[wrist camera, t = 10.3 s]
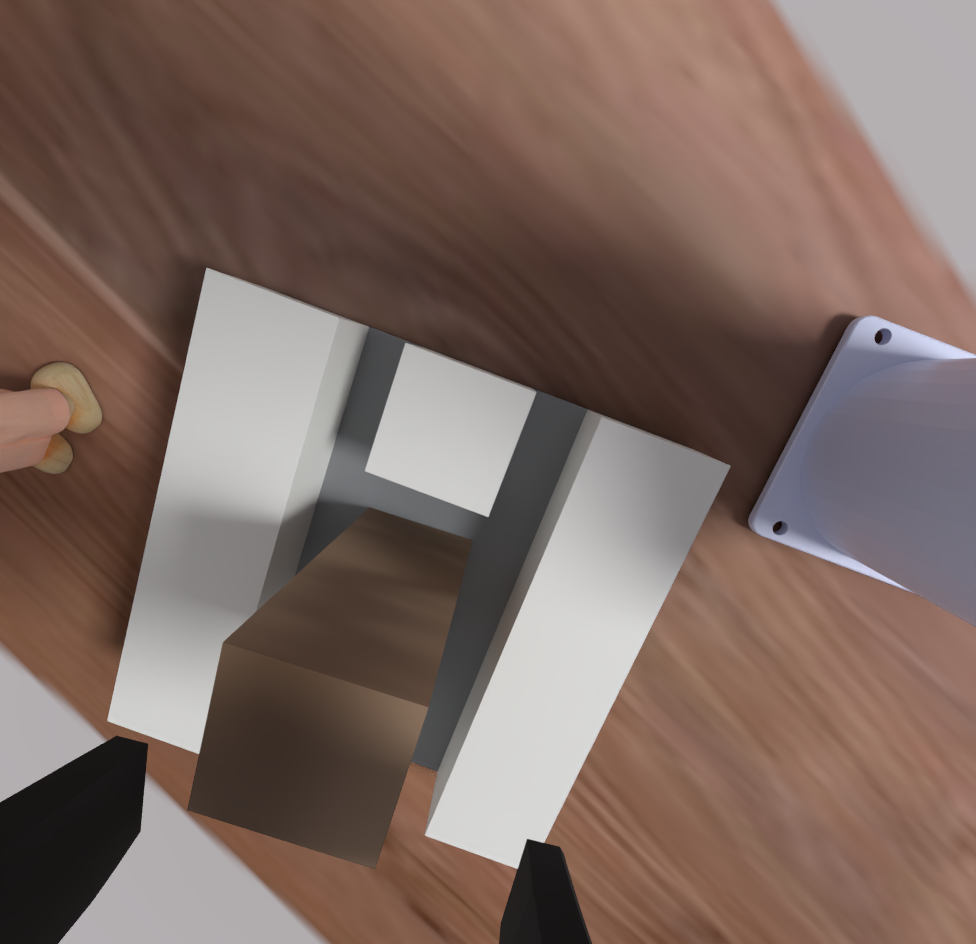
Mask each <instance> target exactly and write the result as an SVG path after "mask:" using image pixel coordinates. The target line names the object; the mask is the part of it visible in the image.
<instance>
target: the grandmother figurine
mask: <svg viewBox="0 0 976 944" xmlns="http://www.w3.org/2000/svg"><path fill="white" fill-rule="evenodd" d="M101 422H102V410H101V408H100V405H99V403H98V401H97V399H96V398H95V396H94V394H93V392H92V390H91V388H90V386H89V384H88V383H87V381H86V379H85V377H84V376H83V374H82V373H81V372H80V371H79V370H78V369H77V368H75V367H74V366H73V365H71V364H68V363H65V362H56V363H52V364H49V365H47V366H44V367H43V368H41V369H39V370H38V371H37V372H36V373H35V374H34V376H33V378H32V380H31V389H30V390H24V391H18V392H13V391H10V390H5V389H0V473H1V472H6V471H11V470H16V469H21V468H25V467H29V466H34V467H36V468H38V469H40V470H42V471H44V472H46V473H51V474H58V473H62V472H64V471H65V470H66V469H67V468H68V467H69V465H70V463H71V462H72V459H73V452H72V448H71V446H70V444H69V443H68V442H67V441H66V440H65V439H64V438H63V437H62V436H61V435H60V434H59V432H61V431H62V430H64V429H65V428H67V429H68V430H70V431H73V432H75V433H81V434H83V433H89V432H91V431H93V430H94V429H95V428H97V427H98V426H99V425H100V423H101Z"/></svg>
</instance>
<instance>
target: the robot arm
mask: <svg viewBox="0 0 976 944" xmlns="http://www.w3.org/2000/svg"><path fill="white" fill-rule="evenodd" d="M878 330H879V331H881V332H882V335H883V337H882V341H881V342H880V343H879V344H877V343H876V342H875V339H874V337H875V334H876V333H877V331H878ZM779 521H781V522H782V526H781V528H780V529H779V530H778V531H775V532H773V525H774V524H775V523H776V522H779ZM748 523H749V527H750V528H751V530H753V531H754V532H756V533H757V534H759V535H761V536H763V537H766V538H769V539H771V540H774V541H777V542H779V543H782V544H784V545H787V546H790V547H792V548H795V549H798V550H800V551H803V552H806V553H808V554H811V555H814V556H816V557H819V558H822V559H824V560H827V561H830V562H832V563H835V564H838V565H840V566H843V567H846V568H848V569H851V570H854V571H856V572H859V573H862V574H864V575H867V576H870V577H872V578H875V579H878V580H880V581H883V582H886V583H888V584H891V585H894V586H896V587H899V588H902V589H904V590H907V591H909V592H912V593H915V594H917V595H919V596H921V597H923V598H924V599H926V600H928V601H930V602H932V603H933V604H935V605H937V606H939V607H941V608H942V609H944V610H946V611H948V612H950V613H951V614H953V615H955V616H957V617H959V618H960V619H962V620H964V621H966V622H968V623H969V624H971V625H973V626H975V627H976V355H975V354H972V353H970V352H967V351H964V350H962V349H959V348H957V347H954V346H952V345H949V344H946V343H944V342H941V341H939V340H936V339H933V338H931V337H928V336H926V335H923V334H920V333H918V332H915V331H913V330H910V329H907V328H905V327H902V326H900V325H897V324H894V323H892V322H889V321H887V320H884V319H882V318H879V317H876V316H871V315H869V316H863V317H858V318H856V319H854V320H853V321H851V323H850V324H849V325H848V327H847V328H846V330H845V332H844V334H843V336H842V338H841V340H840V342H839V344H838V346H837V348H836V350H835V352H834V354H833V355H832V357H831V359H830V361H829V363H828V365H827V367H826V369H825V371H824V373H823V375H822V377H821V379H820V381H819V383H818V384H817V386H816V388H815V390H814V392H813V394H812V396H811V398H810V400H809V402H808V404H807V406H806V408H805V410H804V411H803V413H802V415H801V417H800V419H799V421H798V423H797V425H796V427H795V429H794V431H793V433H792V435H791V437H790V438H789V440H788V442H787V444H786V446H785V448H784V450H783V452H782V454H781V456H780V458H779V460H778V462H777V464H776V466H775V467H774V469H773V471H772V473H771V475H770V477H769V479H768V481H767V483H766V485H765V487H764V489H763V491H762V493H761V494H760V496H759V498H758V500H757V502H756V504H755V506H754V508H753V510H752V512H751V514H750V516H749V519H748ZM147 751H148V744H147V743H143V742H139V741H135V740H131V739H127V738H123V737H119V736H116V737H114V738H112V739H110V740H108V741H107V742H105V743H103V744H101V745H100V746H98V747H96V748H94V749H92V750H91V751H89V752H87V753H85V754H84V755H82V756H80V757H79V758H77V759H75V760H73V761H71V762H70V763H68V764H66V765H64V766H63V767H61V768H59V769H58V770H56V771H54V772H52V773H51V774H49V775H47V776H45V777H44V778H42V779H40V780H39V781H37V782H35V783H33V784H32V785H30V786H28V787H26V788H24V789H23V790H21V791H19V792H18V793H16V794H14V795H13V796H11V797H9V798H7V799H6V800H4V801H2V802H0V944H58V943H59V942H60V940H61V939H62V938H63V937H64V936H65V934H66V933H67V932H68V931H69V929H70V928H71V927H72V926H73V925H74V923H75V922H76V921H77V919H78V918H79V917H80V916H81V915H82V913H83V912H84V911H85V910H86V909H87V907H88V906H89V905H90V904H91V902H92V901H93V900H94V898H95V897H96V895H97V894H98V893H99V891H100V890H101V888H102V887H103V886H104V884H105V883H106V881H107V880H108V878H109V877H110V875H111V874H112V873H113V871H114V870H115V868H116V867H117V865H118V864H119V863H120V861H121V860H122V858H123V857H124V855H125V853H126V852H127V850H128V849H129V848H130V846H131V845H132V843H133V842H134V840H135V839H136V837H137V835H138V834H139V833H140V830H141V819H142V806H143V795H144V785H145V773H146V762H147ZM499 944H592V942H591V939H590V936H589V933H588V930H587V927H586V924H585V921H584V918H583V915H582V912H581V909H580V906H579V903H578V900H577V897H576V894H575V890H574V887H573V884H572V881H571V877H570V874H569V871H568V867H567V864H566V860H565V857H564V853H563V852H562V850H561V848H560V847H558V846H554V845H550V844H546V843H542V842H538V841H534V840H530V839H527V841H526V844H525V847H524V850H523V853H522V857H521V860H520V863H519V866H518V869H517V873H516V876H515V879H514V882H513V886H512V889H511V892H510V895H509V898H508V902H507V905H506V908H505V911H504V915H503V918H502V921H501V928H500V941H499Z"/></svg>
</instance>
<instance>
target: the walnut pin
mask: <svg viewBox="0 0 976 944" xmlns="http://www.w3.org/2000/svg"><path fill="white" fill-rule="evenodd" d="M472 541H473V540H471V539H468V538H464V537H461V536H458V535H455V534H452V533H449V532H446V531H443V530H439V529H436V528H433V527H430V526H427V525H424V524H421V523H417V522H414V521H411V520H408V519H405V518H402V517H399V516H396V515H392V514H389V513H386V512H383V511H380V510H377V509H374V508H371V507H370V508H368V509H367V510H366V511H365V512H364V513H363V514H362V515H361V516H360V517H359V518H358V519H356V520H355V521H354V522H353V523H352V524H351V525H350V526H349V527H348V528H347V529H346V530H344V531H343V532H342V533H341V534H340V535H339V536H338V537H337V538H336V539H335V540H334V541H333V542H331V543H330V544H329V545H328V546H327V547H326V548H325V549H324V550H323V551H322V552H321V553H319V554H318V555H317V556H316V557H315V558H314V559H313V560H312V561H311V562H310V563H309V564H307V565H306V566H305V567H304V568H303V569H302V570H301V571H300V572H299V573H298V574H297V575H295V576H294V577H293V578H292V579H291V580H290V581H289V582H288V583H287V584H286V585H285V586H283V587H282V588H281V589H280V590H279V591H278V592H277V593H276V594H275V595H274V596H273V597H271V598H270V599H269V600H268V601H267V602H266V603H265V604H264V605H263V606H262V607H261V608H259V609H258V610H257V611H256V612H255V613H254V614H253V615H252V616H251V617H250V618H249V619H247V620H246V621H245V622H244V623H243V624H242V625H241V626H240V627H239V628H238V629H237V630H236V631H234V632H233V633H232V634H231V635H230V636H229V637H228V638H227V639H226V640H225V641H224V642H223V643H222V648H221V653H220V658H219V662H218V667H217V672H216V677H215V681H214V686H213V691H212V696H211V700H210V705H209V710H208V715H207V719H206V724H205V729H204V734H203V738H202V743H201V748H200V753H199V757H198V762H197V767H196V771H195V776H194V781H193V786H192V790H191V795H190V800H189V805H188V809H187V810H188V811H192V812H195V813H198V814H201V815H204V816H207V817H211V818H214V819H217V820H220V821H223V822H226V823H230V824H233V825H236V826H239V827H242V828H246V829H249V830H252V831H255V832H258V833H261V834H265V835H268V836H271V837H274V838H277V839H280V840H284V841H287V842H290V843H293V844H296V845H299V846H303V847H306V848H309V849H312V850H315V851H319V852H322V853H325V854H328V855H331V856H334V857H338V858H341V859H344V860H347V861H350V862H353V863H357V864H360V865H363V866H366V867H369V868H372V869H375V868H376V865H377V862H378V859H379V856H380V853H381V850H382V847H383V844H384V841H385V838H386V835H387V832H388V829H389V826H390V823H391V820H392V817H393V813H394V810H395V807H396V804H397V801H398V798H399V795H400V792H401V789H402V786H403V783H404V780H405V777H406V774H407V771H408V768H409V765H410V762H411V759H412V756H413V753H414V750H415V747H416V744H417V741H418V738H419V735H420V732H421V729H422V726H423V723H424V720H425V717H426V714H427V711H428V708H429V704H430V700H431V696H432V693H433V689H434V685H435V681H436V677H437V674H438V670H439V666H440V662H441V659H442V655H443V651H444V647H445V643H446V640H447V636H448V632H449V628H450V624H451V621H452V617H453V613H454V609H455V606H456V602H457V598H458V594H459V590H460V587H461V583H462V579H463V575H464V572H465V568H466V564H467V560H468V556H469V553H470V549H471V545H472Z"/></svg>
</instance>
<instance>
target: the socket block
mask: <svg viewBox="0 0 976 944" xmlns="http://www.w3.org/2000/svg"><path fill="white" fill-rule="evenodd" d="M730 467H731V466H730V465H728V464H725V463H723V462H721V461H719V460H716V459H714V458H712V457H710V456H707V455H705V454H703V453H700V452H698V451H696V450H694V449H691V448H689V447H686V446H684V445H681V444H679V443H676V442H673V441H671V440H668V439H665V438H663V437H660V436H657V435H655V434H652V433H649V432H647V431H644V430H642V429H639V428H636V427H634V426H631V425H628V424H626V423H623V422H620V421H618V420H615V419H612V418H610V417H607V416H605V415H602V414H599V413H597V412H594V411H591V410H589V409H586V408H583V407H581V406H578V405H575V404H573V403H570V402H568V401H565V400H562V399H560V398H557V397H554V396H552V395H549V394H546V393H544V392H541V391H538V390H536V389H533V388H531V387H528V386H525V385H523V384H520V383H517V382H515V381H512V380H509V379H507V378H504V377H501V376H499V375H496V374H493V373H491V372H488V371H486V370H483V369H480V368H478V367H475V366H472V365H470V364H467V363H464V362H462V361H459V360H456V359H454V358H451V357H449V356H446V355H443V354H441V353H438V352H435V351H433V350H430V349H427V348H425V347H422V346H419V345H417V344H414V343H412V342H409V341H406V340H404V339H401V338H398V337H396V336H393V335H390V334H388V333H385V332H382V331H380V330H377V329H375V328H372V327H369V326H367V325H364V324H361V323H359V322H356V321H353V320H351V319H348V318H345V317H343V316H340V315H337V314H335V313H332V312H330V311H327V310H324V309H322V308H319V307H316V306H314V305H311V304H308V303H306V302H303V301H300V300H298V299H295V298H293V297H290V296H287V295H285V294H282V293H279V292H277V291H274V290H271V289H269V288H266V287H263V286H260V285H257V284H254V283H251V282H248V281H245V280H242V279H239V278H236V277H233V276H230V275H227V274H224V273H221V272H218V271H215V270H212V269H209V268H206V272H205V276H204V281H203V285H202V290H201V295H200V299H199V304H198V308H197V313H196V317H195V322H194V327H193V331H192V336H191V340H190V345H189V349H188V354H187V359H186V363H185V368H184V372H183V377H182V381H181V386H180V391H179V395H178V400H177V404H176V409H175V414H174V418H173V423H172V427H171V432H170V436H169V441H168V446H167V450H166V455H165V459H164V464H163V468H162V473H161V478H160V482H159V487H158V491H157V496H156V500H155V505H154V510H153V514H152V519H151V523H150V528H149V532H148V537H147V542H146V546H145V551H144V555H143V560H142V564H141V569H140V574H139V578H138V583H137V587H136V592H135V597H134V601H133V606H132V610H131V615H130V619H129V624H128V629H127V633H126V638H125V642H124V647H123V651H122V656H121V661H120V665H119V670H118V674H117V679H116V683H115V688H114V693H113V697H112V702H111V706H110V711H109V715H108V720H107V721H109V722H112V723H114V724H117V725H120V726H123V727H125V728H128V729H131V730H134V731H137V732H139V733H142V734H145V735H148V736H150V737H153V738H156V739H159V740H162V741H164V742H167V743H170V744H173V745H175V746H178V747H181V748H184V749H186V750H189V751H192V752H195V753H198V754H199V753H200V748H201V743H202V738H203V734H204V729H205V724H206V719H207V715H208V710H209V705H210V700H211V696H212V691H213V686H214V681H215V677H216V672H217V667H218V662H219V658H220V653H221V648H222V643H223V642H224V641H225V640H226V639H227V638H228V637H229V636H230V635H231V634H232V633H233V632H234V631H236V630H237V629H238V628H239V627H240V626H241V625H242V624H243V623H244V622H245V621H246V620H247V619H249V618H250V617H251V616H252V615H253V614H254V613H255V612H256V611H257V610H258V609H259V608H261V607H262V606H263V605H264V604H265V603H266V602H267V601H268V600H269V599H270V598H271V597H273V596H274V595H275V594H276V593H277V592H278V591H279V590H280V589H281V588H282V587H283V586H285V585H286V584H287V583H288V582H289V581H290V580H291V579H292V578H293V577H294V576H295V575H297V574H298V573H299V572H300V571H301V570H302V569H303V568H304V567H305V566H306V565H307V564H309V563H310V562H311V561H312V560H313V559H314V558H315V557H316V556H317V555H318V554H319V553H321V552H322V551H323V550H324V549H325V548H326V547H327V546H328V545H329V544H330V543H331V542H333V541H334V540H335V539H336V538H337V537H338V536H339V535H340V534H341V533H342V532H343V531H344V530H346V529H347V528H348V527H349V526H350V525H351V524H352V523H353V522H354V521H355V520H356V519H358V518H359V517H360V516H361V515H362V514H363V513H364V512H365V511H366V510H367V509H368V508H370V507H371V508H374V509H377V510H380V511H383V512H386V513H389V514H392V515H396V516H399V517H402V518H405V519H408V520H411V521H414V522H417V523H421V524H424V525H427V526H430V527H433V528H436V529H439V530H443V531H446V532H449V533H452V534H455V535H458V536H461V537H464V538H468V539H471V540H473V541H472V545H471V549H470V553H469V556H468V560H467V564H466V568H465V572H464V575H463V579H462V583H461V587H460V590H459V594H458V598H457V602H456V606H455V609H454V613H453V617H452V621H451V624H450V628H449V632H448V636H447V640H446V643H445V647H444V651H443V655H442V659H441V662H440V666H439V670H438V674H437V677H436V681H435V685H434V689H433V693H432V696H431V700H430V704H429V708H428V711H427V714H426V717H425V720H424V723H423V726H422V729H421V732H420V735H419V738H418V741H417V744H416V747H415V750H414V753H413V756H412V759H411V762H413V763H416V764H418V765H421V766H424V767H427V768H429V769H432V770H435V771H437V776H436V781H435V786H434V791H433V796H432V802H431V807H430V812H429V817H428V822H427V827H426V832H425V836H428V837H431V838H433V839H436V840H439V841H442V842H444V843H447V844H450V845H453V846H456V847H458V848H461V849H464V850H467V851H469V852H472V853H475V854H478V855H480V856H483V857H486V858H489V859H492V860H494V861H497V862H500V863H503V864H505V865H508V866H511V867H514V868H517V869H518V866H519V863H520V860H521V857H522V853H523V850H524V847H525V844H526V841H527V839H530V840H534V841H538V842H542V843H544V842H545V840H546V838H547V836H548V834H549V832H550V830H551V828H552V826H553V824H554V821H555V819H556V817H557V815H558V813H559V811H560V809H561V807H562V805H563V803H564V801H565V799H566V797H567V795H568V793H569V791H570V789H571V787H572V785H573V783H574V781H575V779H576V777H577V775H578V773H579V771H580V769H581V767H582V765H583V763H584V761H585V759H586V757H587V755H588V753H589V751H590V749H591V747H592V745H593V743H594V741H595V739H596V737H597V735H598V733H599V731H600V729H601V727H602V725H603V723H604V721H605V719H606V717H607V715H608V713H609V711H610V709H611V707H612V705H613V703H614V701H615V699H616V697H617V695H618V693H619V691H620V689H621V686H622V684H623V682H624V680H625V678H626V676H627V674H628V672H629V670H630V668H631V666H632V664H633V662H634V660H635V658H636V656H637V654H638V652H639V650H640V648H641V646H642V644H643V642H644V640H645V638H646V636H647V634H648V632H649V630H650V628H651V626H652V624H653V622H654V620H655V618H656V616H657V614H658V612H659V610H660V608H661V606H662V604H663V602H664V600H665V598H666V596H667V594H668V592H669V590H670V588H671V586H672V584H673V582H674V580H675V578H676V576H677V574H678V572H679V570H680V568H681V566H682V564H683V562H684V560H685V558H686V556H687V553H688V551H689V549H690V547H691V545H692V543H693V541H694V539H695V537H696V535H697V533H698V531H699V529H700V527H701V525H702V523H703V521H704V519H705V517H706V515H707V513H708V511H709V509H710V507H711V505H712V503H713V501H714V499H715V497H716V495H717V493H718V491H719V489H720V487H721V485H722V483H723V481H724V479H725V477H726V475H727V473H728V471H729V469H730Z"/></svg>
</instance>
